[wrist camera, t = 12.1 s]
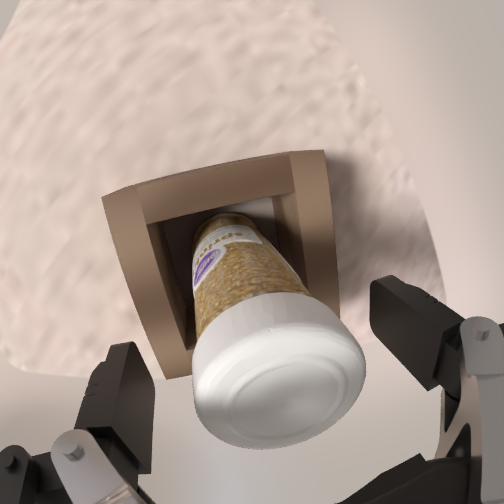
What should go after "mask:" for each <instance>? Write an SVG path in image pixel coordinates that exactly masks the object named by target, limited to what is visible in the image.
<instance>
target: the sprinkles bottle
mask: <svg viewBox="0 0 504 504" xmlns="http://www.w3.org/2000/svg"><path fill="white" fill-rule="evenodd" d="M192 256H193V264H192V271H193V294H194V299H195V321H196V336H197V344H196V347H195V350H194V353H193V358H192V381H193V382H192V383H193V395H194V404H195V409H196V413H197V415H198V417H199V419H200V421H201V422H202V424H203V425H204V427H205V428H206V429H207V430H208V431H209V432H210V433H211V434H213V435H214V436H216V437H217V438H218V439H220V440H222V441H224V442H226V443H228V444H231V445H234V446H237V447H242V448H248V449H261V450H263V449H275V448H281V447H287V446H290V445H294V444H297V443H300V442H303V441H306V440H308V439H310V438H312V437H314V436H317V435H318V434H320V433H322V432H323V431H325V430H326V429H328V428H330V427H331V426H332V425H333V424H335V423H336V422H337V421H338V420H339V419H341V418H342V417H343V416H344V415H345V414H346V413H347V412H348V411H349V409H350V408H351V407H352V406H353V404H354V403H355V401H356V400H357V398H358V396H359V394H360V392H361V390H362V387H363V384H364V380H365V377H366V362H365V356H364V354H363V351H362V348H361V347H360V345H359V344H358V342H357V340H356V339H355V338H354V336H353V335H352V334H351V333H350V331H349V330H348V329H347V327H346V326H345V325H344V324H343V323H342V321H341V320H340V319H339V318H338V317H337V315H336V314H335V313H334V312H333V311H332V310H331V309H330V308H329V307H328V306H327V305H325V304H323V303H322V302H320V301H318V300H317V299H315V298H314V297H313V296H312V295H311V294H310V293H309V291H308V290H307V289H306V288H305V286H304V285H303V284H302V282H301V280H300V278H299V276H298V275H297V274H296V272H295V271H294V270H293V269H292V267H291V266H290V265H289V264H288V263H287V262H286V260H285V259H284V258H283V257H282V256H281V255H280V253H279V252H278V251H277V250H276V249H275V248H274V247H273V246H272V244H271V243H270V242H269V241H268V240H267V239H266V238H265V237H264V236H262V235H261V234H260V232H259V230H258V228H257V227H256V225H255V224H254V223H253V222H252V221H251V220H249V219H248V218H247V217H245V216H242V215H240V214H236V213H221V214H217V215H215V216H212V217H211V218H209V219H208V220H206V221H205V222H204V223H202V224H201V225H200V226H199V228H198V229H197V230H196V232H195V235H194V238H193V242H192Z"/></svg>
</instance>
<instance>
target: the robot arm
mask: <svg viewBox="0 0 504 504" xmlns="http://www.w3.org/2000/svg"><path fill="white" fill-rule="evenodd" d="M369 320H370V326H371V329H372V331H373V333H374V335H375V336H376V337H377V338H378V339H379V340H380V341H381V342H382V343H383V344H384V345H385V346H386V347H387V348H388V349H389V350H390V351H391V353H392V354H393V355H394V356H395V357H396V358H397V359H398V360H399V361H400V362H401V363H402V364H403V365H404V366H405V367H406V368H407V370H409V372H410V373H411V374H412V375H413V376H414V377H415V378H416V379H417V380H418V381H419V383H420V384H421V385H422V386H423V387H424V388H425V389H426V390H427V391H429V390H431V389H433V388H434V387H436V386H438V385H441V386H442V387H443V389H442V393H441V420H440V438H439V444H438V448H437V451H436V454H435V458H434V459H432V460H428V461H425V459H424V458H423V457H422V455H421V454H420V453H419V454H417V455H416V456H414V457H412V458H410V459H409V460H407V461H405V462H403V463H401V464H399V465H397V466H395V467H393V468H392V469H389V470H388V471H385V472H383V473H381V474H380V475H379V476H377V477H376V478H375V479H374V480H372V481H371V482H369V483H368V484H367V485H365V486H364V487H363V488H361V489H360V490H358V491H357V492H356V493H354V494H353V495H351V496H350V497H349V498H347V499H345V500H344V501H342V502H340V503H337V504H504V323H503V324H499V325H498V324H497V323H495V322H494V321H493V320H491V319H489V318H485V317H478V316H477V317H471V318H468V319H464V318H463V317H461V316H460V315H459V314H457V313H456V312H454V311H453V310H452V309H450V308H449V307H447V306H446V305H444V304H443V303H441V302H440V301H439V302H438V300H437V299H436V298H434V297H433V296H430V294H428V293H427V292H425V291H424V290H422V289H421V288H418V287H415V286H412V285H409V284H405V283H404V282H403V281H401V280H400V279H398V278H397V277H395V276H393V275H389V276H386V277H383V278H380V279H377V280H374V281H372V282H371V285H370V317H369ZM154 402H155V387H154V383H153V379H152V377H151V375H150V373H149V371H148V369H147V367H146V365H145V362H144V360H143V358H142V356H141V354H140V352H139V350H138V348H137V346H136V344H135V343H134V342H133V341H131V342H126V343H120V344H115V345H111V346H110V349H109V352H108V355H107V358H106V361H104V362H100V364H99V365H98V366H97V367H96V368H95V370H94V371H93V372H92V374H91V377H90V380H89V383H88V387H87V388H86V391H85V396H84V398H83V401H82V404H81V407H80V410H79V413H78V417H77V420H76V424H75V427H74V430H70V431H67V432H65V433H64V434H62V435H60V436H59V437H58V438H57V439H56V441H55V442H54V444H53V446H52V449H51V452H47V453H43V454H39V455H35V456H31V455H30V454H29V453H27V451H26V450H25V449H24V448H23V447H21V446H18V445H11V446H8V447H6V448H5V449H3V450H2V451H1V452H0V504H156V503H155V502H154V501H153V500H152V499H151V498H150V497H149V496H148V495H147V494H146V492H145V491H144V490H143V489H142V488H141V487H140V486H139V485H138V474H151V459H152V432H153V417H154Z"/></svg>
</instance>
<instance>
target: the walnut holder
mask: <svg viewBox="0 0 504 504" xmlns="http://www.w3.org/2000/svg"><path fill="white" fill-rule="evenodd" d="M269 196H271V197H272V202H273V208H274V215H275V221H276V227H277V233H278V239H279V246H280V252H281V256H282V257H283V258H284V259H285V260H286V262H287V263H288V264H289V265H290V266H291V267H292V269H293V270H294V271H295V272H296V274H297V275H298V276H299V278H300V280H301V282H302V284H303V285H304V286H305V288H306V289H307V290H308V291H309V293H310V294H311V295H312V296H313V297H314V298H315V299H317V300H318V301H320V302H322V303H323V304H325V305H327V306H328V307H329V308H330V309H331V310H332V311H333V312H334V313H335V314H336V315H337V317H338V318H339V319H340V307H339V288H338V272H337V259H336V246H335V235H334V225H333V216H332V207H331V198H330V190H329V182H328V175H327V168H326V161H325V154H324V150H306V151H290V152H283V153H277V154H271V155H265V156H259V157H253V158H248V159H243V160H237V161H232V162H227V163H222V164H217V165H213V166H208V167H203V168H199V169H194V170H190V171H186V172H181V173H177V174H173V175H169V176H165V177H161V178H157V179H153V180H149V181H146V182H142V183H138V184H135V185H131V186H128V187H124V188H122V189H120V190H117V191H115V192H113V193H110V194H108V195H106V196H103V197H101V198H102V202H103V206H104V210H105V213H106V217H107V221H108V224H109V228H110V232H111V235H112V238H113V242H114V245H115V248H116V252H117V255H118V258H119V261H120V264H121V267H122V270H123V273H124V276H125V279H126V282H127V285H128V288H129V291H130V293H131V296H132V299H133V302H134V304H135V307H136V310H137V312H138V315H139V317H140V320H141V323H142V325H143V328H144V330H145V332H146V335H147V337H148V340H149V342H150V344H151V347H152V349H153V351H154V354H155V356H156V358H157V360H158V363H159V365H160V367H161V369H162V371H163V374H164V376H165V378H166V380H167V379H173V378H178V377H183V376H188V375H192V358H193V353H194V350H195V347H196V344H197V336H196V321H195V306H192V307H188V308H186V305H185V302H184V299H183V296H182V292H181V289H180V286H179V282H178V279H177V276H176V272H175V269H174V265H173V262H172V258H171V254H170V251H169V247H168V243H167V240H166V236H165V232H164V228H163V224H162V221H163V220H167V219H171V218H175V217H179V216H183V215H187V214H191V213H196V212H200V211H204V210H209V209H213V208H218V207H222V206H227V205H231V204H236V203H240V202H245V201H250V200H255V199H260V198H264V197H269Z"/></svg>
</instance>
